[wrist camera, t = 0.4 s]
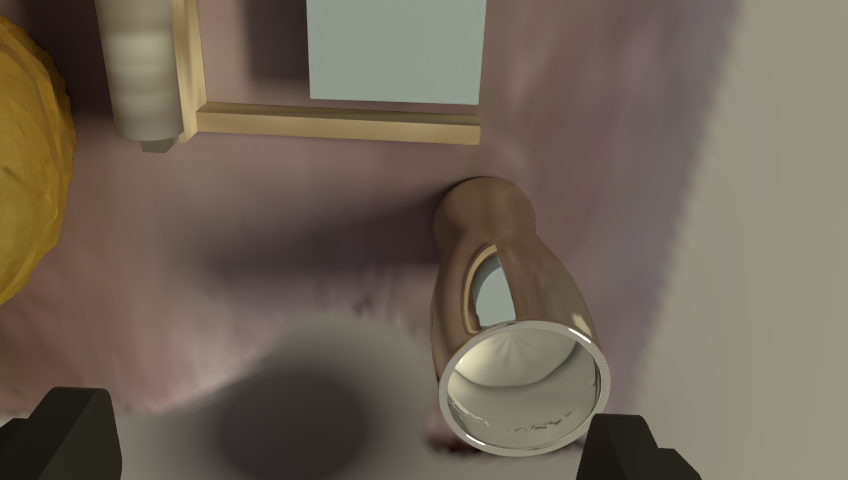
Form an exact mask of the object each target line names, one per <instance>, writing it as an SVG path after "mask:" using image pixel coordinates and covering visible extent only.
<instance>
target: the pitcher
mask: <svg viewBox="0 0 848 480" xmlns="http://www.w3.org/2000/svg"><path fill="white" fill-rule="evenodd" d="M70 107H71V104H70V97H69V96H68V95H67V94H66V93H65V79H64V78H62V77H60V75H59V71H58V70H57V68H56V67H55V63H54V62H53V58H52V57H50V56H49V52H48V51H43V49H42V48H41V47H39V46H38V45H36V44H35V41H34V40H32V39H31V38H29V37H28V35H27V32H26V30H25V29H23V28H22V27H20V26H16V25H15V24H14V23H10V21H9V20H8V18H7V16H2V15H1V14H0V305H1V304H3V303H4V302H5V301H7V300H8V299H10V298H11V297H12V296H14V295H15V294H16V293H17V292H18V291H19V290H20V289H21V288H22V287H23V286H24V285H26V284H27V283H28V282H29V275H30V274H31V272H32V271H33V269H34V268H35V267H36V265H37V264H38V262H39V261H40V259H41V258H42V257H43V255H44V254H45V253H47V252H48V251H49V250H50V249H51V248H52V247H54V246H55V245H56V244H57V241H58V237H59V233H60V228H61V224H62V220H63V215H64V211H65V205H66V194H67V185H68V183H69V182H70V180H71V178H72V162H73V161H72V159H73V158H72V153H74V151H75V148H76V145H77V136H76V134H75V132H76V130H75V129H74V127H75V124H74V121H73V118H72V116H71V110H70V109H69V108H70Z"/></svg>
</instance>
